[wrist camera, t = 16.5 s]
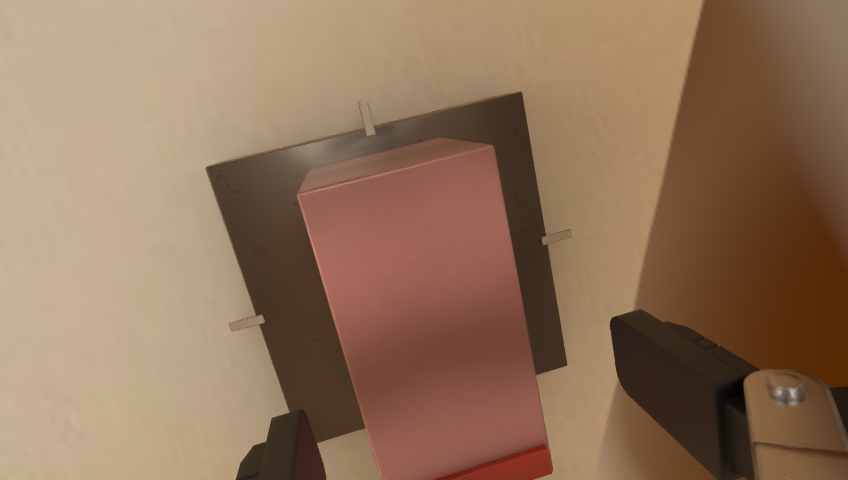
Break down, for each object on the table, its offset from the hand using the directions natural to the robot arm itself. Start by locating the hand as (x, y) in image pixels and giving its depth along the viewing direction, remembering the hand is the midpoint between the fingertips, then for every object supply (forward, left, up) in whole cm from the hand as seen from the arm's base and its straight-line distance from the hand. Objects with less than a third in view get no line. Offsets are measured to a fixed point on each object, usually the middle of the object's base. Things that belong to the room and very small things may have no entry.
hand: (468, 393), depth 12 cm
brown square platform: (0, 0, -12) cm, 12 cm away
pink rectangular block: (0, 0, -9) cm, 9 cm away
